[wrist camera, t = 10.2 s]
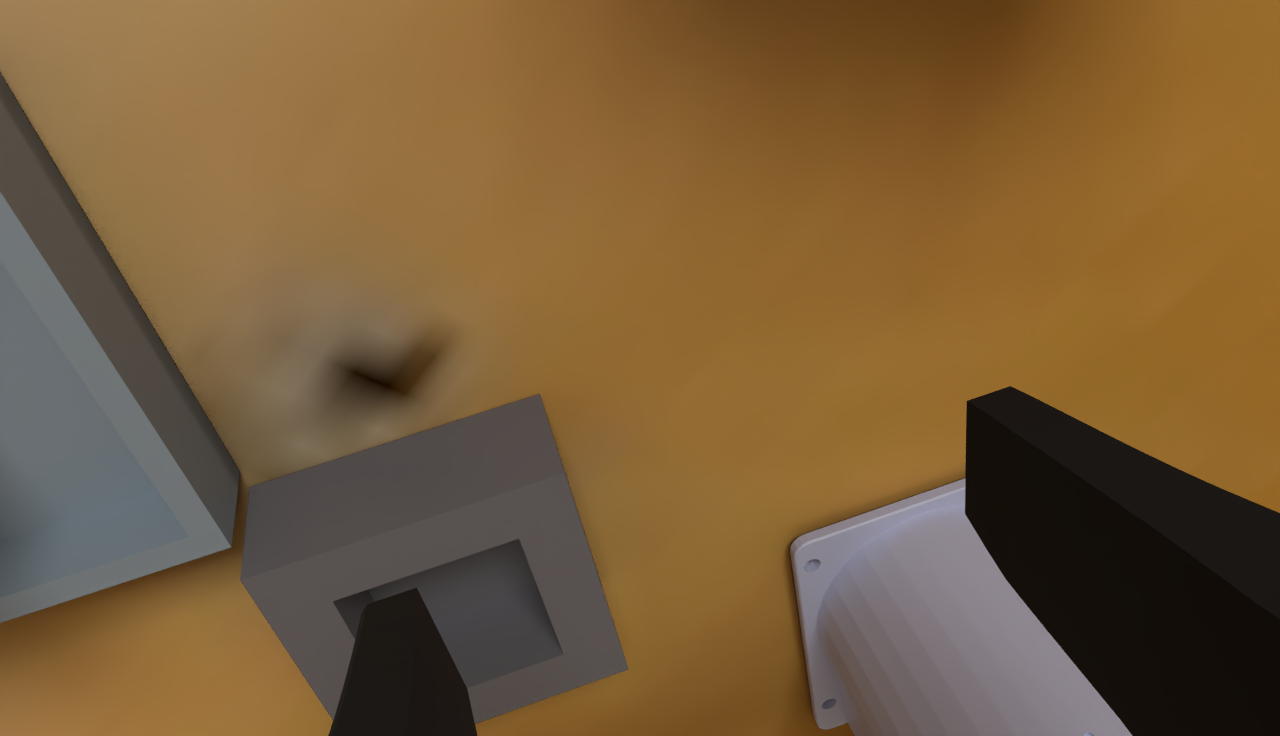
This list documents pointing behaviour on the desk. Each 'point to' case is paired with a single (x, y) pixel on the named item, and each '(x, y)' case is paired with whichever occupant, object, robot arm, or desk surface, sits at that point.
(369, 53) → the desk surface
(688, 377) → the desk surface
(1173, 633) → the robot arm
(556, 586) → the grey square holder
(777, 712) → the desk surface
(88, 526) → the parts tray
